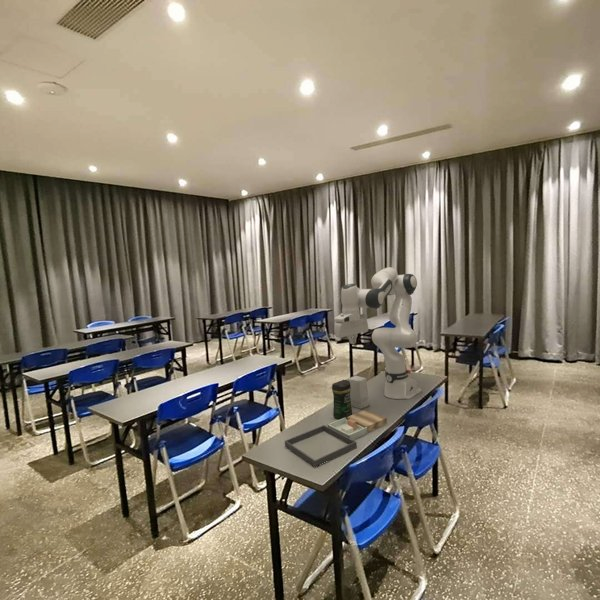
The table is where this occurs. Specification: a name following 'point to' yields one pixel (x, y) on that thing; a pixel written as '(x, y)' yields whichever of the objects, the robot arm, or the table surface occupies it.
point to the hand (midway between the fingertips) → (352, 343)
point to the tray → (354, 435)
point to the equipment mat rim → (327, 457)
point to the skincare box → (358, 392)
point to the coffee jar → (342, 399)
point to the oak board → (368, 420)
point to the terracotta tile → (352, 424)
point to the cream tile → (347, 429)
